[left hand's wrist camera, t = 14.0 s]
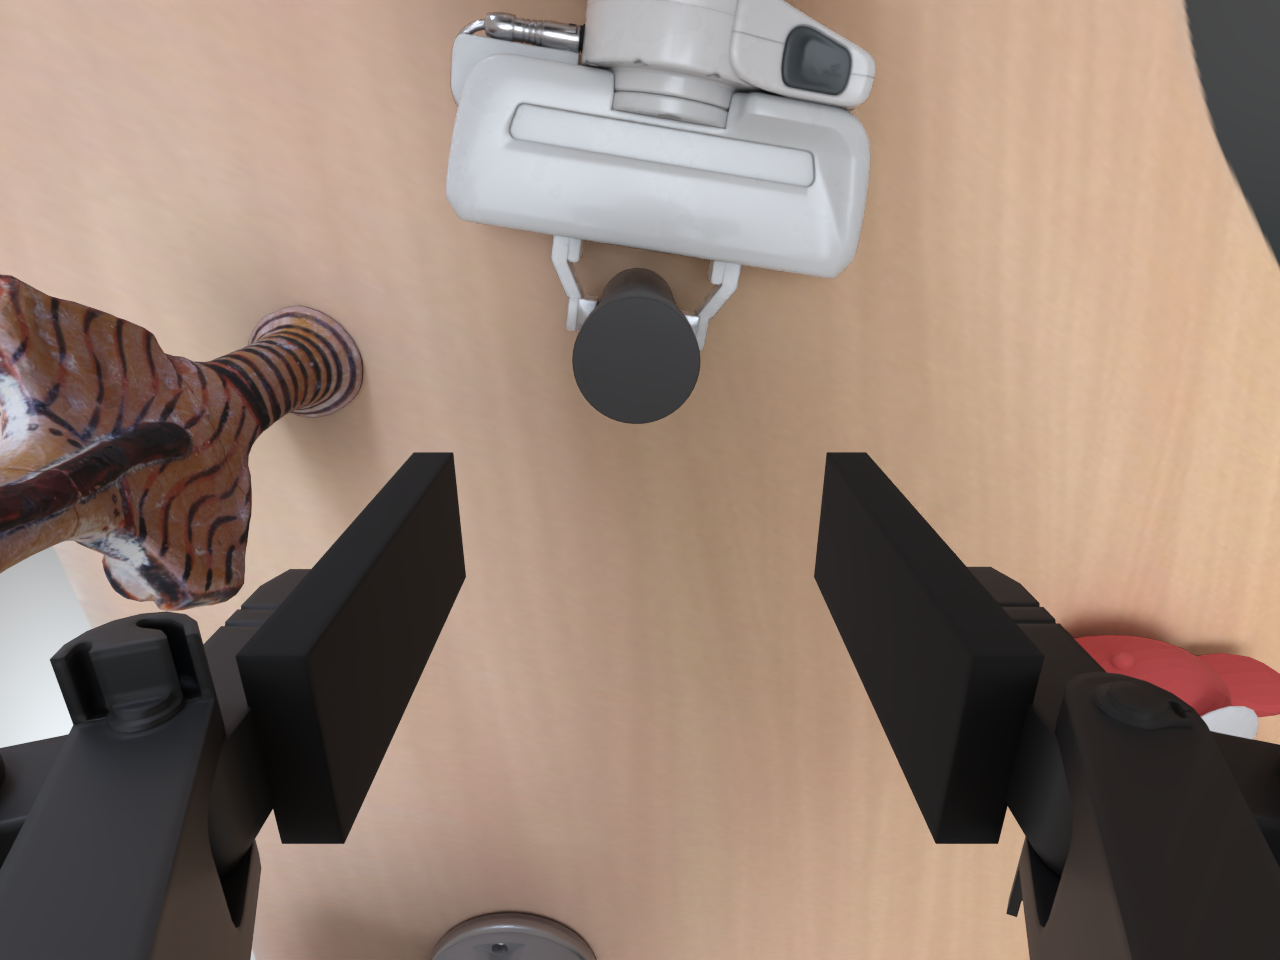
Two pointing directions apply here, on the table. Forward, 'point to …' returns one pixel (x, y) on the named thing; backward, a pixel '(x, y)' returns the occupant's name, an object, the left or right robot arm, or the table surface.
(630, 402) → the lid
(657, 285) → the dark grey bottle
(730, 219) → the right robot arm
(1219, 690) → the toy
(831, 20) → the table surface
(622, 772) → the table surface
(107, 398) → the figurine
